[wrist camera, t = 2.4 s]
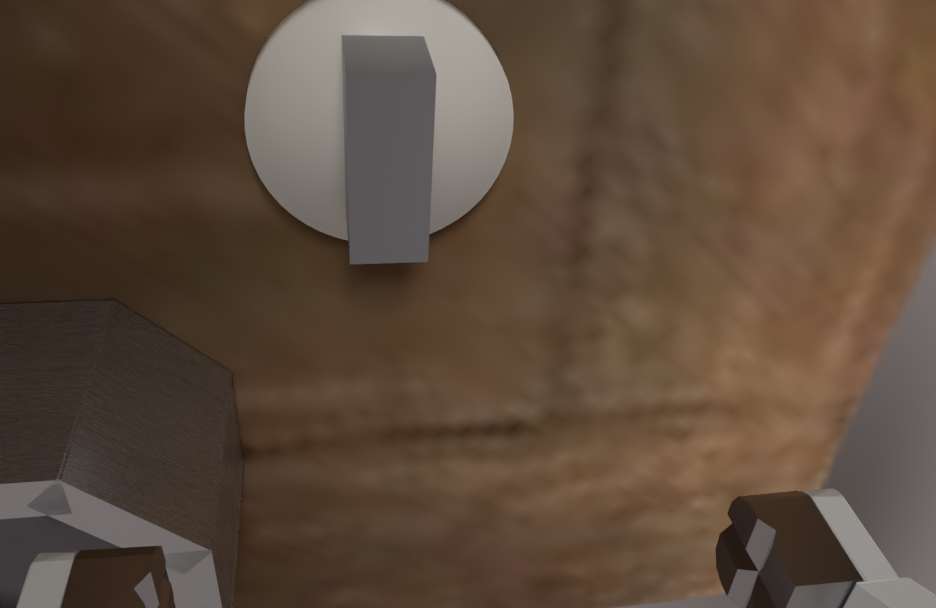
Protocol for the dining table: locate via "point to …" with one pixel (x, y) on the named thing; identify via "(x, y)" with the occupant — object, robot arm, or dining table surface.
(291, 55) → the cap
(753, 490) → the dining table surface
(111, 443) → the grey octagonal pot
